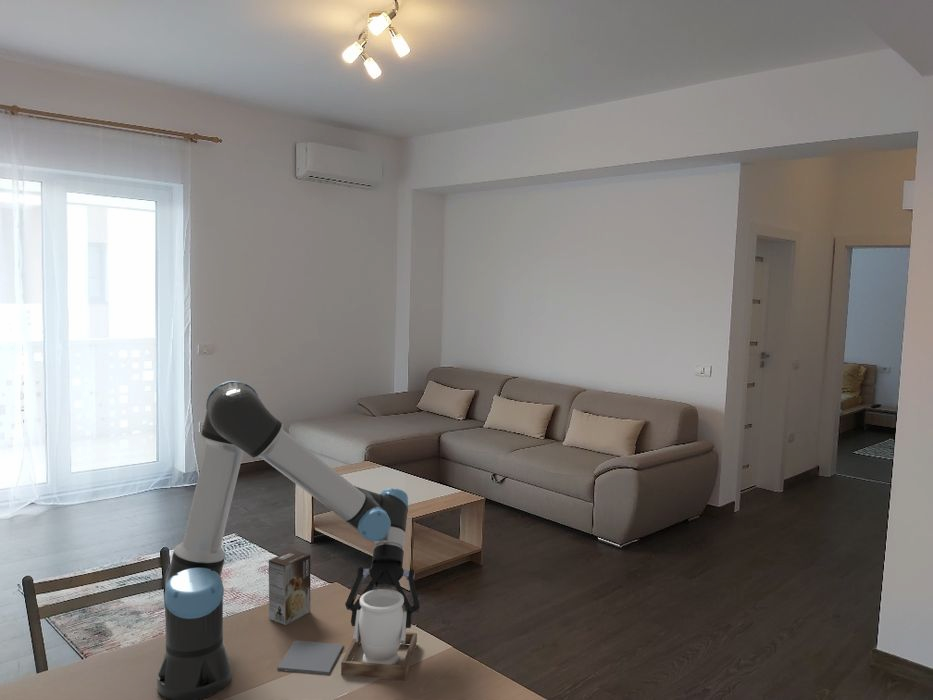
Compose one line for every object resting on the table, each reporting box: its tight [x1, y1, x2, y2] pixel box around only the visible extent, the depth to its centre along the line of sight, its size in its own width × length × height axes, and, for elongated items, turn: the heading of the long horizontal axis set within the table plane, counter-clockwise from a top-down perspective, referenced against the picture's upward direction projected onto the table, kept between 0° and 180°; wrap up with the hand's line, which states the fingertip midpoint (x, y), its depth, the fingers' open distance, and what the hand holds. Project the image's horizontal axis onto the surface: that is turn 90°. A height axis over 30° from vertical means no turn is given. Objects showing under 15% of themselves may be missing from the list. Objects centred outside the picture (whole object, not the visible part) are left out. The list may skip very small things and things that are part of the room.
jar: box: [359, 588, 404, 665], centre depth 165 cm, size 11×10×15 cm
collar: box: [340, 631, 418, 682], centre depth 165 cm, size 15×16×3 cm
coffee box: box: [268, 549, 311, 626], centre depth 184 cm, size 9×6×16 cm
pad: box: [276, 640, 344, 675], centre depth 165 cm, size 12×12×1 cm
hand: (379, 641), depth 162 cm, fingers closed on jar, 10 cm apart
